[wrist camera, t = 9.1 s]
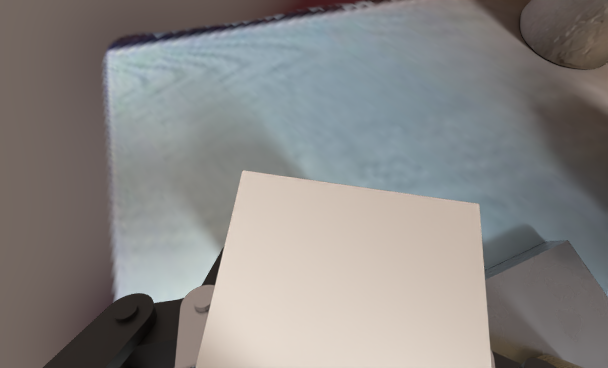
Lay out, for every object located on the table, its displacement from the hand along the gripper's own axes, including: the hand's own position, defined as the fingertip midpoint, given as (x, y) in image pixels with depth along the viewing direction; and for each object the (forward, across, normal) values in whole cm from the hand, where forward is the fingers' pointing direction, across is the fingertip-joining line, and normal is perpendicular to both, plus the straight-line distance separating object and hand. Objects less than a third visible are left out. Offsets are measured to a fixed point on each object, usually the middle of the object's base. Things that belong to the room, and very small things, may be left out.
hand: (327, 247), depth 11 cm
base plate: (+1, -15, +9) cm, 17 cm away
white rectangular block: (+2, 0, +4) cm, 5 cm away
